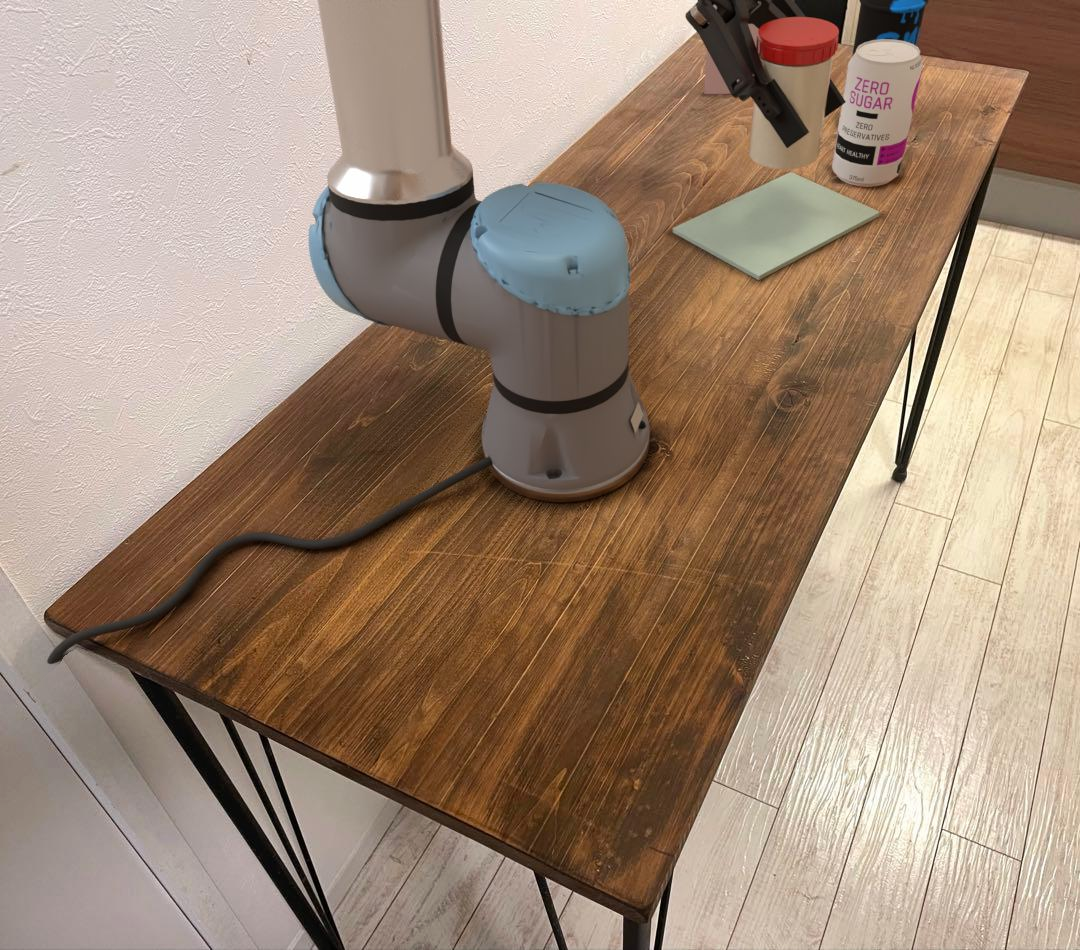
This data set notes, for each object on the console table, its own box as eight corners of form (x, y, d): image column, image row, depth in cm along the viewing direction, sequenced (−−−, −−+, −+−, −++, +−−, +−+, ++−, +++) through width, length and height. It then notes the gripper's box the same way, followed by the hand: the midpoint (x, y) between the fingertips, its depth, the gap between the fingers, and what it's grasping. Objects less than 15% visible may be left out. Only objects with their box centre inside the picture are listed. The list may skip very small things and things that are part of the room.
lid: (798, 72, 90) (800, 52, 89) (739, 51, 95) (740, 32, 94) (853, 49, 93) (856, 29, 92) (793, 29, 98) (796, 10, 97)
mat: (758, 280, 100) (759, 276, 100) (672, 232, 109) (672, 227, 108) (879, 216, 108) (880, 211, 108) (790, 175, 116) (790, 171, 116)
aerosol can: (827, 118, 127) (851, -41, 113) (875, 104, 129) (904, -54, 115) (866, 140, 122) (896, -24, 108) (915, 125, 124) (951, -38, 110)
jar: (785, 176, 99) (799, 57, 90) (734, 153, 103) (743, 37, 94) (833, 153, 101) (852, 36, 93) (782, 132, 106) (795, 17, 97)
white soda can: (892, 157, 118) (918, 35, 107) (904, 188, 112) (932, 63, 102) (827, 158, 119) (846, 38, 108) (835, 190, 113) (856, 66, 102)
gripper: (721, -65, 103) (833, 108, 106) (615, -8, 92) (743, 182, 96) (769, -115, 96) (886, 70, 100) (660, -60, 86) (796, 144, 89)
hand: (816, 124), depth 98 cm, fingers closed on jar, 8 cm apart
